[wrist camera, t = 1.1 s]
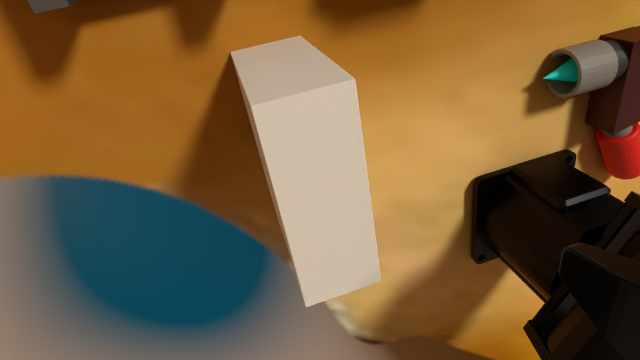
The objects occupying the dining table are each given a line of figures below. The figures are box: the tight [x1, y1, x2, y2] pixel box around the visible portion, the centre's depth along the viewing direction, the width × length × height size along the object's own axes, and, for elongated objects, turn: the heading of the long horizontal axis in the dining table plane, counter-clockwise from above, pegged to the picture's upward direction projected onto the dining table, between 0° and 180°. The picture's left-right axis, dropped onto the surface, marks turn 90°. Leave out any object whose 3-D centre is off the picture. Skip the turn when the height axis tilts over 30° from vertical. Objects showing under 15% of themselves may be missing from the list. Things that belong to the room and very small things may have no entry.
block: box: [230, 36, 381, 307], centre depth 16 cm, size 8×3×7 cm, turn 11°
